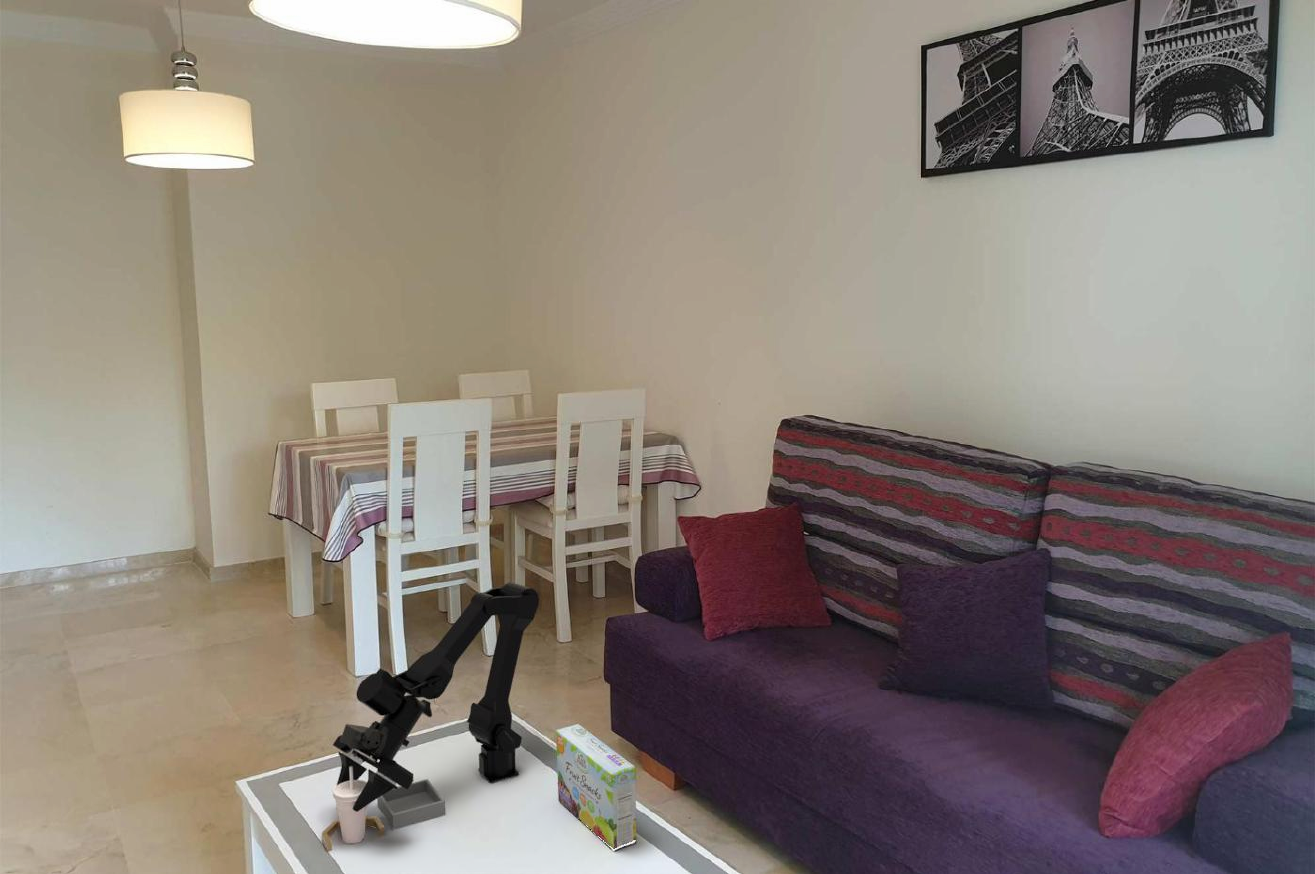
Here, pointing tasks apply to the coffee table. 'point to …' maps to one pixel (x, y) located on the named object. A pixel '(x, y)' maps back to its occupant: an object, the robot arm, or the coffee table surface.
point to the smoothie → (350, 809)
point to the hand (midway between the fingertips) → (344, 804)
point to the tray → (411, 804)
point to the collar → (336, 826)
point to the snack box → (596, 785)
